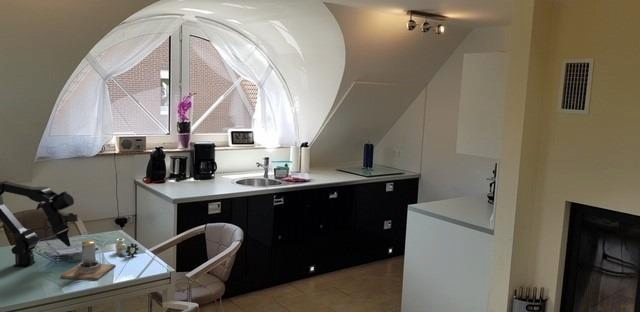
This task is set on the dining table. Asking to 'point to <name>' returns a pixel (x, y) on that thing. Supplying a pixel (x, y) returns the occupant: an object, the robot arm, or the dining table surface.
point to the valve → (125, 248)
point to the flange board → (88, 276)
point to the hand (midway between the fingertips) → (69, 245)
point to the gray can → (88, 253)
